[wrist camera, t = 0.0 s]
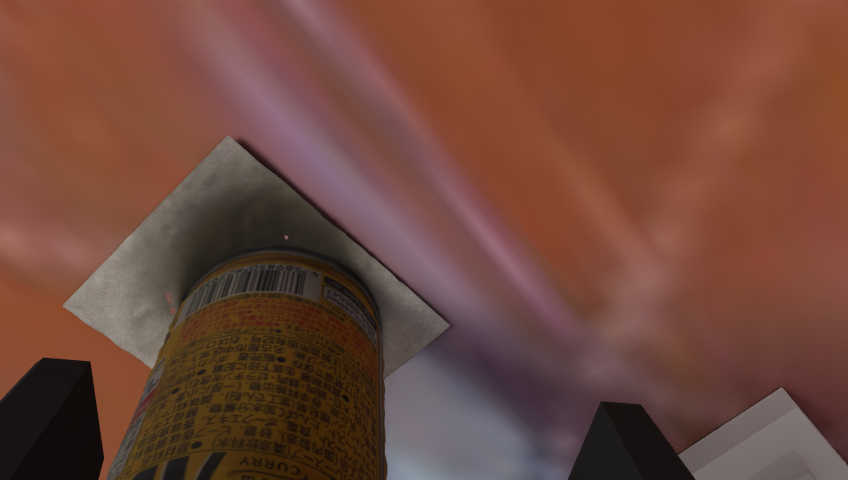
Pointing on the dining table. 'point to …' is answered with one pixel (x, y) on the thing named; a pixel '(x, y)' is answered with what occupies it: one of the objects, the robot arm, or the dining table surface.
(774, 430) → the notch ledge
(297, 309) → the condiment
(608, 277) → the dining table surface
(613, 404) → the robot arm
